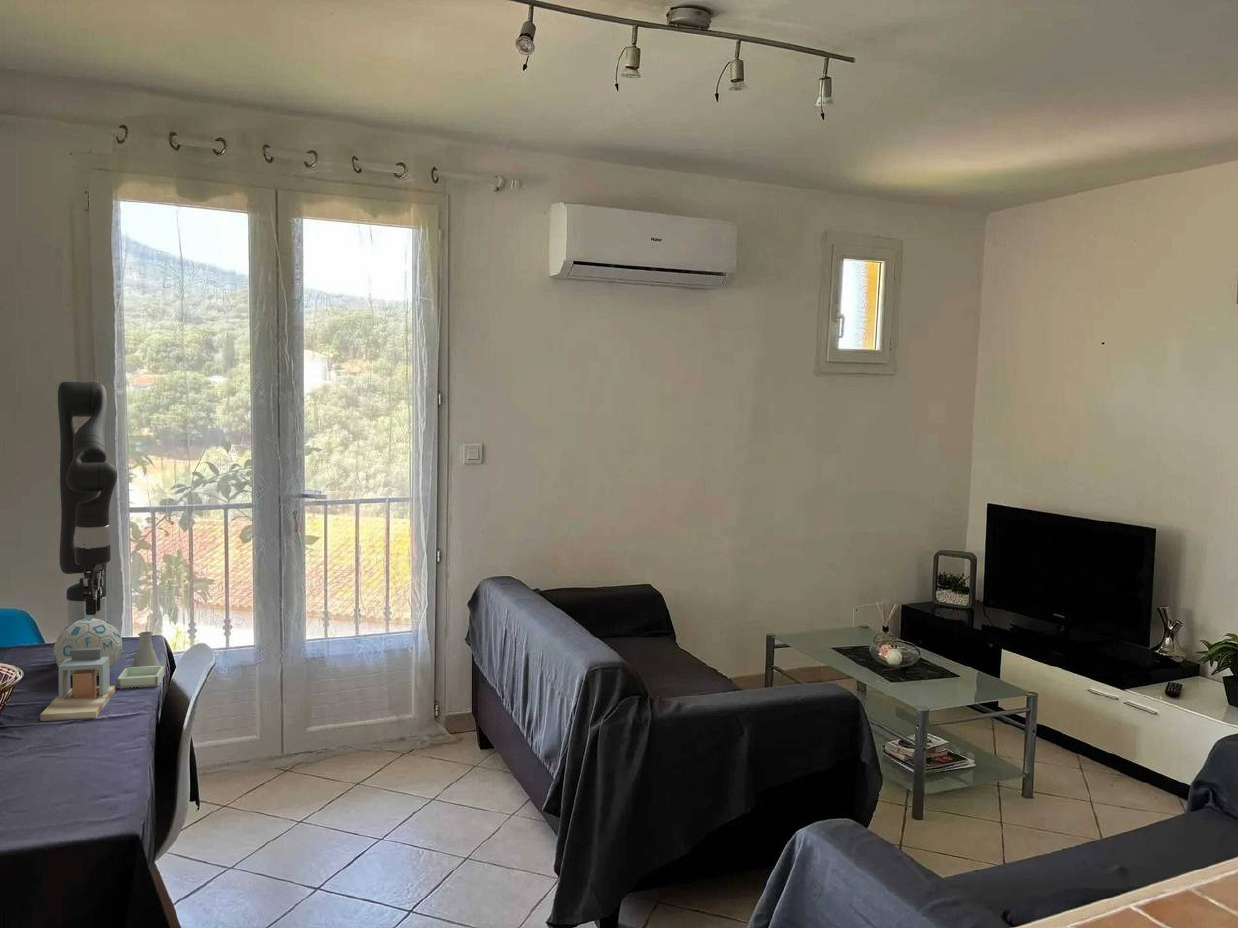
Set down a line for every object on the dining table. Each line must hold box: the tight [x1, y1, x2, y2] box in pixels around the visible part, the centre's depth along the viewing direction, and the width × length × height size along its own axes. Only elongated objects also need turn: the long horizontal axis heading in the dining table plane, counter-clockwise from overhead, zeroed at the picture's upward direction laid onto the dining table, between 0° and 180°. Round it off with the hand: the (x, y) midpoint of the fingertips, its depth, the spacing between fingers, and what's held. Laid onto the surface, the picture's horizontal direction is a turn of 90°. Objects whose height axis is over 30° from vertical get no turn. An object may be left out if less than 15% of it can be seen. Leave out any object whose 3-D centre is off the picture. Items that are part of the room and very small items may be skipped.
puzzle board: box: [39, 685, 116, 722], centre depth 205 cm, size 18×11×2 cm, turn 17°
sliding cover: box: [57, 648, 111, 698], centre depth 208 cm, size 6×9×10 cm, turn 107°
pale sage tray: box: [116, 665, 166, 689], centre depth 222 cm, size 9×9×2 cm
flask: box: [130, 630, 162, 667], centre depth 231 cm, size 7×7×10 cm
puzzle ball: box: [53, 618, 123, 677], centre depth 224 cm, size 15×15×15 cm
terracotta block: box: [72, 669, 98, 699], centre depth 209 cm, size 4×4×7 cm
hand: (93, 612), depth 215 cm, fingers open, 3 cm apart
